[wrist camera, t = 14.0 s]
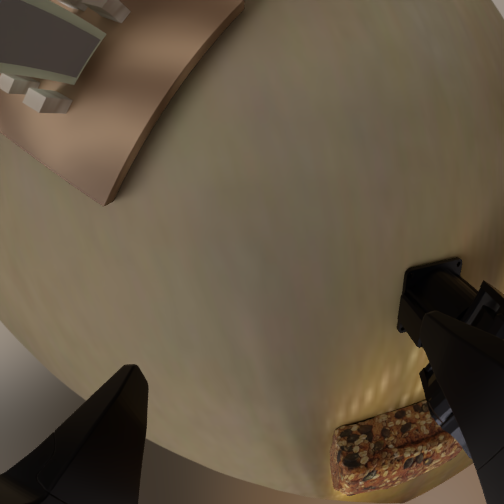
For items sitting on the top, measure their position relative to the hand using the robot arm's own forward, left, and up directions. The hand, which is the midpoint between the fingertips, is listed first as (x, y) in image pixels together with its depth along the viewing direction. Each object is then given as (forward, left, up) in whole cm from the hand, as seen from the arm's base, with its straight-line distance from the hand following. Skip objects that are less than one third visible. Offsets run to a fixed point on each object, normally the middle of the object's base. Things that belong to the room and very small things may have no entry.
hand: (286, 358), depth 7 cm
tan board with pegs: (+11, -16, -12) cm, 23 cm away
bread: (-14, +32, -12) cm, 37 cm away
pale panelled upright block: (+11, -16, -11) cm, 22 cm away
